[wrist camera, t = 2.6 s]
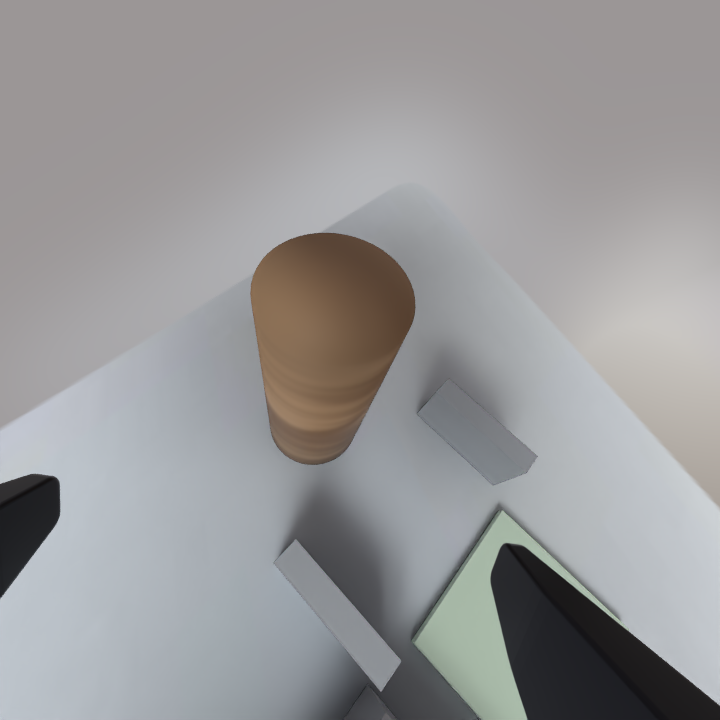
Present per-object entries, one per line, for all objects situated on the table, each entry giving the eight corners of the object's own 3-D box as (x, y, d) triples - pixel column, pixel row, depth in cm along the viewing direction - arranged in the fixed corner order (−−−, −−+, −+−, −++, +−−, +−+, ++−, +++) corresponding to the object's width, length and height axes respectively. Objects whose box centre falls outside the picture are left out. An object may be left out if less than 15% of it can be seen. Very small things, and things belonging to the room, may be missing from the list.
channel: (364, 667, 16) (380, 692, 13) (276, 562, 18) (273, 562, 15) (503, 470, 22) (537, 456, 19) (428, 401, 23) (448, 378, 20)
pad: (552, 800, 15) (560, 807, 15) (411, 641, 17) (414, 643, 17) (621, 628, 19) (629, 629, 18) (498, 511, 21) (502, 510, 20)
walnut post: (311, 484, 20) (334, 400, 9) (251, 419, 21) (214, 281, 11) (372, 423, 22) (446, 301, 12) (316, 368, 23) (336, 212, 13)
